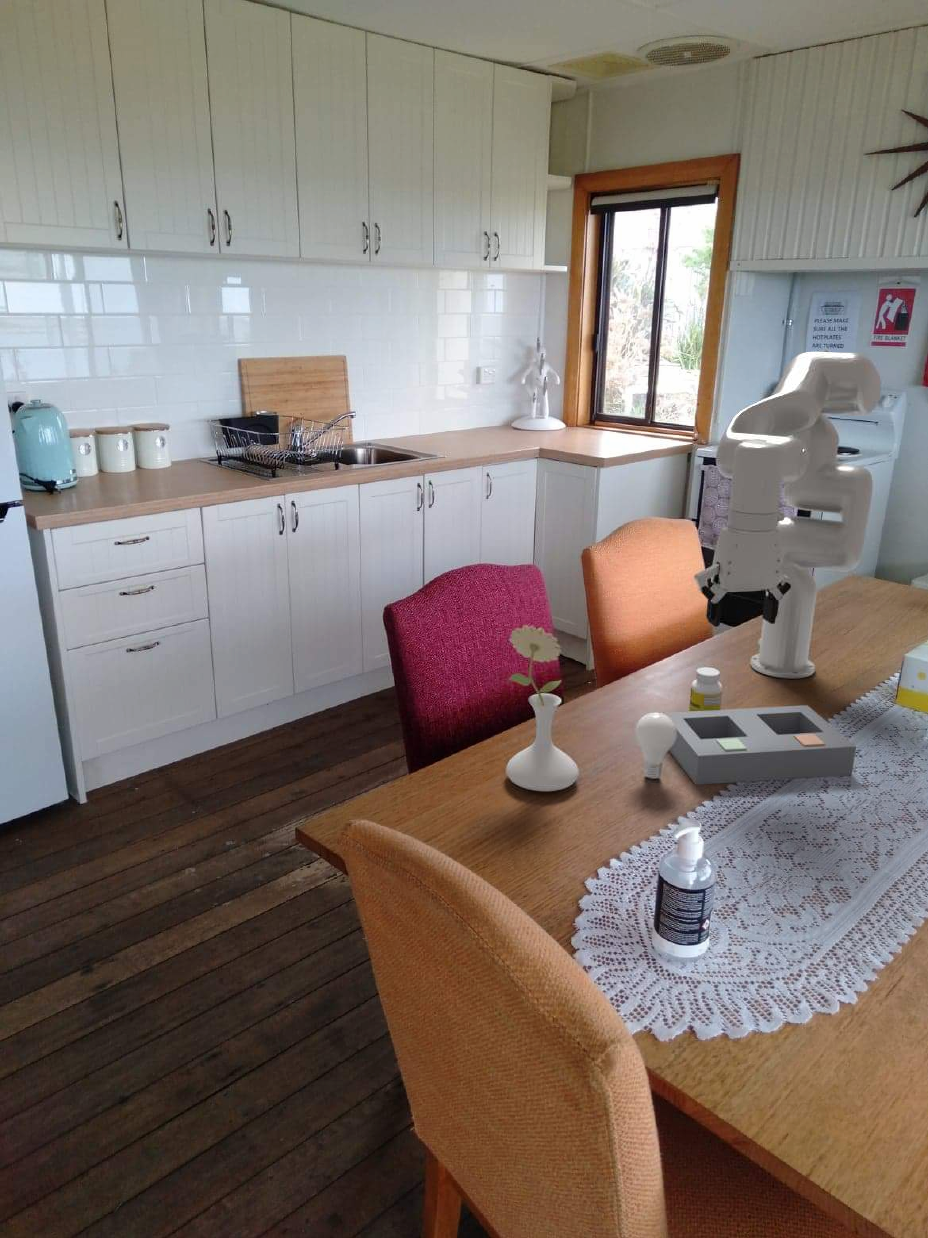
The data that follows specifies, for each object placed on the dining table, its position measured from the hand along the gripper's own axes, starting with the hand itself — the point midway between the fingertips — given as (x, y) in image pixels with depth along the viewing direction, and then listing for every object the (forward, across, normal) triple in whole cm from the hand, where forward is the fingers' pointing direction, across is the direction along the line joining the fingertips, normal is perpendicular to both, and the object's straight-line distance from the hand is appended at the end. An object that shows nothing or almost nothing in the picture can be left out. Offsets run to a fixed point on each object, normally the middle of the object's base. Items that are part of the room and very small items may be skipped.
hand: (741, 622), depth 153 cm
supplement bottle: (+22, +1, -7) cm, 23 cm away
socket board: (+21, -1, +7) cm, 22 cm away
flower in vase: (+22, +36, +9) cm, 43 cm away
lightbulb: (+22, +18, +11) cm, 30 cm away
